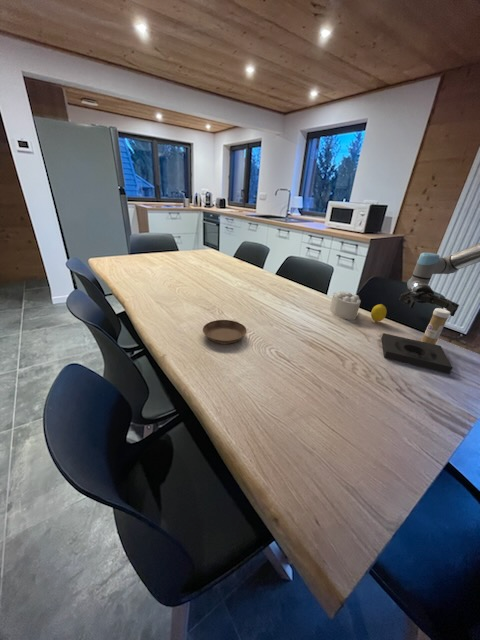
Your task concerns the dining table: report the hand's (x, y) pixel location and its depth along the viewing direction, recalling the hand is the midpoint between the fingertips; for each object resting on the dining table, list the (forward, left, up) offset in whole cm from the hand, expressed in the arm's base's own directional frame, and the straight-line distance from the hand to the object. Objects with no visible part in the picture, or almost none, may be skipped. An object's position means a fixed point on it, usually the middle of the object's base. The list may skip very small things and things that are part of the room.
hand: (432, 308), depth 100 cm
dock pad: (+7, +21, -10) cm, 25 cm away
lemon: (+17, -2, -11) cm, 20 cm away
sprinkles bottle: (0, +9, -11) cm, 14 cm away
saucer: (+67, +41, -11) cm, 79 cm away
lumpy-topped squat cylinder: (+30, -4, -11) cm, 32 cm away
